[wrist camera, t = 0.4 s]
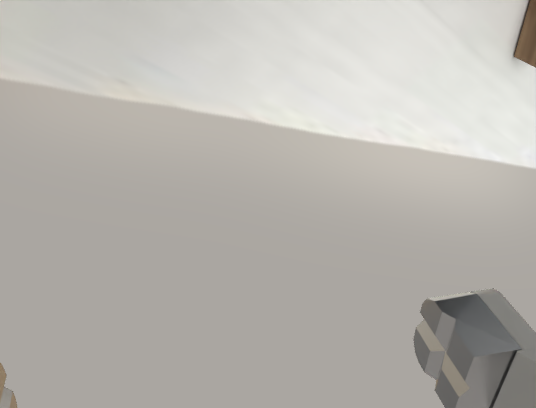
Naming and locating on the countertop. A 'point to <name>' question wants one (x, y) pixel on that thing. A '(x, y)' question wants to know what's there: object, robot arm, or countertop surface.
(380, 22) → the countertop surface
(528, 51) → the door
